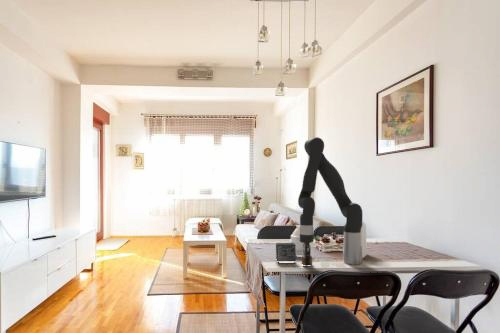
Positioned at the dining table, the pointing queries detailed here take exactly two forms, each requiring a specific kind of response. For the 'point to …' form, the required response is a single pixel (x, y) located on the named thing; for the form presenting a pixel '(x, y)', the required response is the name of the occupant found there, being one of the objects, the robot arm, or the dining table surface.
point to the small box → (285, 252)
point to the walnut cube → (304, 259)
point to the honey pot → (297, 241)
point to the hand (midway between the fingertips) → (306, 264)
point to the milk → (363, 240)
